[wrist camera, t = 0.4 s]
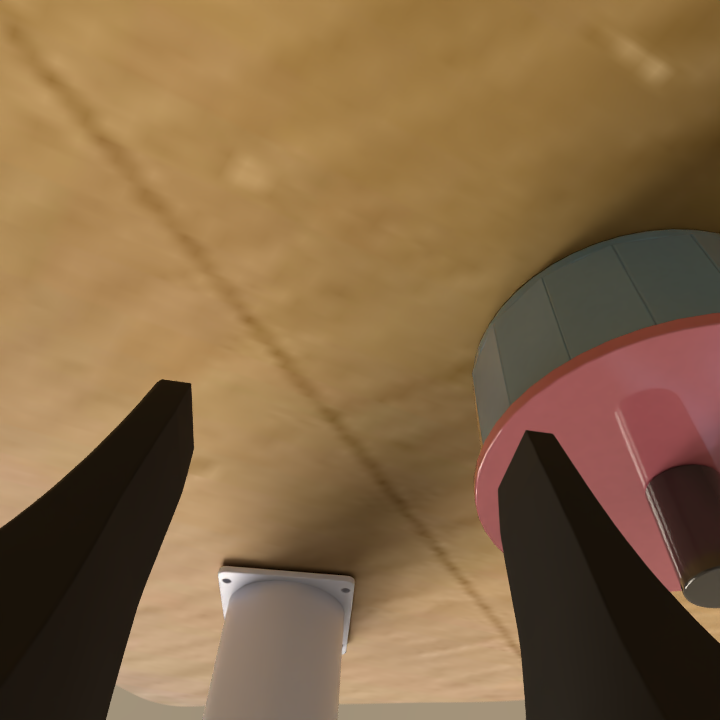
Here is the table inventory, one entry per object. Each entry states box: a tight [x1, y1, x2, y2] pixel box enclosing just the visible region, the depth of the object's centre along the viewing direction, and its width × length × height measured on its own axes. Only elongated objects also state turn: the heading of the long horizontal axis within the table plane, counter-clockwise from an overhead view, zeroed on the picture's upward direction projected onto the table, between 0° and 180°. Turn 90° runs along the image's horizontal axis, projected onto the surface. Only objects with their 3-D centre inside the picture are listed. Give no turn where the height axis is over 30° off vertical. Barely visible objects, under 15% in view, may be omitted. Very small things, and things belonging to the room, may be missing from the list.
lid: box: [474, 313, 720, 608], centre depth 19 cm, size 14×14×5 cm
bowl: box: [472, 229, 720, 449], centre depth 22 cm, size 13×13×6 cm
